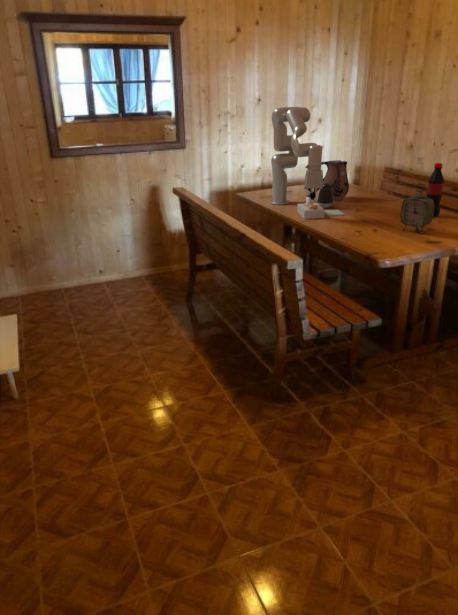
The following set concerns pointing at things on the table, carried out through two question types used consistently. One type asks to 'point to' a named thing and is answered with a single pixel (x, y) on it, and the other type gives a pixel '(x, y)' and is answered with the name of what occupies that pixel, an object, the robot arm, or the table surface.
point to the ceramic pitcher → (337, 178)
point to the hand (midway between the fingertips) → (312, 199)
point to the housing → (310, 211)
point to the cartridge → (308, 200)
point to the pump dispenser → (326, 196)
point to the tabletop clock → (417, 210)
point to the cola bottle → (436, 187)
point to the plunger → (312, 206)
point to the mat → (333, 213)
